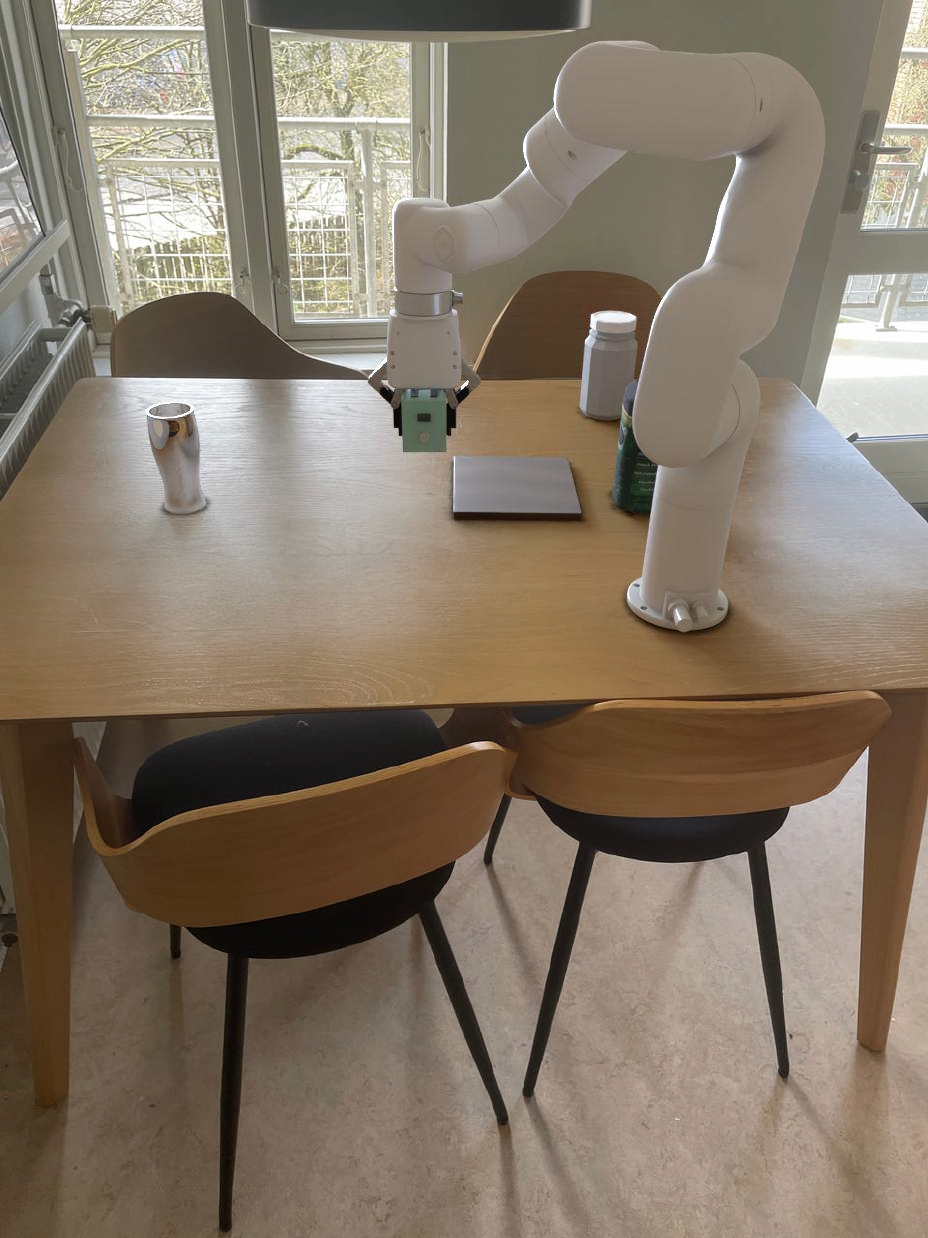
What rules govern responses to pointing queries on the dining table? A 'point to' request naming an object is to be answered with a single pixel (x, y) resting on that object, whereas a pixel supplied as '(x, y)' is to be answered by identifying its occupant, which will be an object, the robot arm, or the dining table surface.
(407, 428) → the toaster
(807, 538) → the dining table surface
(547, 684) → the dining table surface
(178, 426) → the beer glass
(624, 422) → the coffee jar
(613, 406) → the jar
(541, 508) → the board
